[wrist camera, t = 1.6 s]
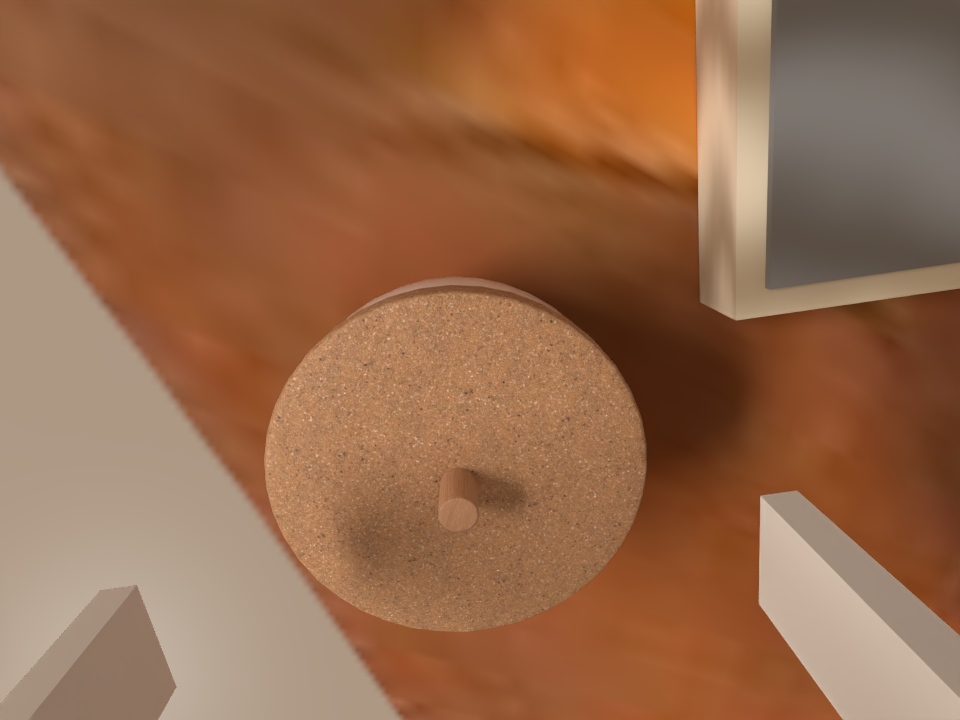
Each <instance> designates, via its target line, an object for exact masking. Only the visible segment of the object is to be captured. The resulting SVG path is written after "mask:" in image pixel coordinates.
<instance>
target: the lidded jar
mask: <svg viewBox="0 0 960 720" xmlns="http://www.w3.org/2000/svg"><path fill="white" fill-rule="evenodd" d="M264 463H265V476H266V488H267V491H268V495H269V499H270V503H271V507H272V511H273V514H274V516H275V518H276V520H277V523H278V525H279V527H280V529H281V532H282V534H283V536H284V538H285V539H286V541H287V542H288V544H289V545H290V547H291V548H292V550H293V551H294V553H295V554H296V556H297V557H298V559H299V560H300V561H301V562H302V563H303V564H304V565H305V567H306V568H307V569H308V570H309V571H310V572H311V573H312V574H313V575H314V577H315V578H316V579H317V580H318V581H319V582H321V583H322V584H323V585H325V586H326V587H327V588H328V589H330V590H331V591H332V592H334V593H335V594H336V595H337V596H339V597H340V598H342V599H344V600H345V601H347V602H348V603H350V604H352V605H353V606H355V607H357V608H358V609H360V610H362V611H364V612H367V613H369V614H372V615H374V616H377V617H379V618H382V619H384V620H387V621H390V622H394V623H397V624H401V625H404V626H408V627H411V628H418V629H426V630H434V631H458V632H467V631H474V630H482V629H490V628H495V627H499V626H504V625H508V624H512V623H517V622H520V621H522V620H525V619H527V618H530V617H532V616H535V615H537V614H540V613H542V612H544V611H546V610H548V609H550V608H552V607H553V606H555V605H557V604H559V603H561V602H563V601H565V600H566V599H568V598H569V597H570V596H572V595H573V594H574V593H576V592H577V591H578V590H580V589H581V588H582V587H583V586H585V585H586V584H587V583H588V582H589V581H590V580H591V579H592V578H594V577H595V576H596V575H597V574H598V573H599V572H600V571H601V570H602V569H603V568H604V567H605V566H606V565H607V563H608V562H609V560H610V559H611V558H612V556H613V555H614V554H615V552H616V551H617V550H618V548H619V547H620V546H621V544H622V543H623V541H624V539H625V537H626V535H627V533H628V532H629V530H630V528H631V526H632V524H633V522H634V520H635V517H636V514H637V511H638V508H639V506H640V503H641V500H642V497H643V491H644V485H645V479H646V473H647V443H646V438H645V433H644V428H643V422H642V417H641V414H640V412H639V409H638V407H637V404H636V402H635V399H634V396H633V394H632V391H631V389H630V388H629V386H628V385H627V383H626V381H625V380H624V378H623V376H622V375H621V373H620V371H619V370H618V368H617V366H616V365H615V364H614V363H613V361H612V360H611V359H610V358H609V357H608V356H607V355H606V353H605V352H604V351H603V350H602V349H601V348H600V347H599V345H598V344H597V343H596V342H595V341H594V340H593V339H592V338H591V337H590V336H589V335H588V334H586V333H585V332H584V331H583V330H581V329H580V328H579V327H578V326H576V325H575V324H574V323H573V322H572V321H570V320H569V319H568V318H566V317H565V316H564V315H562V314H561V313H560V312H559V311H557V310H556V309H555V308H554V307H552V306H551V305H549V304H547V303H545V302H544V301H542V300H540V299H538V298H537V297H535V296H533V295H531V294H530V293H527V292H525V291H523V290H520V289H517V288H515V287H512V286H509V285H507V284H504V283H501V282H496V281H491V280H486V279H481V278H475V277H443V278H434V279H426V280H423V281H419V282H415V283H412V284H408V285H404V286H402V287H399V288H397V289H395V290H393V291H390V292H388V293H386V294H384V295H382V296H380V297H377V298H375V299H373V300H372V301H370V302H369V303H367V304H366V305H364V306H363V307H361V308H360V309H358V310H357V311H355V312H354V313H352V314H351V315H350V316H349V317H348V318H347V319H346V320H345V321H343V322H342V323H340V324H339V325H337V326H336V327H334V328H333V329H332V330H331V331H330V332H329V333H328V334H327V335H326V336H325V337H323V338H322V339H321V340H320V341H319V342H318V343H317V344H316V345H315V346H314V347H313V348H312V349H311V350H310V351H309V352H308V353H307V355H306V356H305V357H304V359H303V360H302V361H301V363H300V364H299V365H298V367H297V368H296V369H295V371H294V372H293V373H292V375H291V376H290V377H289V379H288V380H287V382H286V384H285V386H284V388H283V390H282V392H281V394H280V396H279V398H278V400H277V402H276V404H275V407H274V411H273V414H272V417H271V421H270V424H269V428H268V431H267V438H266V448H265V458H264Z"/></svg>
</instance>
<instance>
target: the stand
mask: <svg viewBox="0 0 960 720" xmlns="http://www.w3.org/2000/svg"><path fill="white" fill-rule="evenodd" d="M696 65H697V137H698V209H699V282H700V303H702V304H704V305H706V306H708V307H710V308H712V309H714V310H716V311H718V312H720V313H722V314H724V315H726V316H728V317H730V318H732V319H734V320H743V319H750V318H757V317H764V316H771V315H778V314H785V313H792V312H799V311H806V310H812V309H819V308H826V307H833V306H840V305H847V304H854V303H861V302H868V301H875V300H882V299H889V298H896V297H903V296H910V295H917V294H924V293H931V292H938V291H945V290H952V289H959V288H960V0H696Z"/></svg>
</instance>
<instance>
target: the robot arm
mask: <svg viewBox="0 0 960 720" xmlns="http://www.w3.org/2000/svg"><path fill="white" fill-rule="evenodd" d="M759 605H760V606H761V607H762V609H763V610H764V611H765V613H766V614H767V616H768V617H769V618H770V620H771V621H772V623H773V624H774V625H775V627H776V628H777V629H778V631H779V632H780V634H781V635H782V636H783V638H784V639H785V640H786V642H787V643H788V645H789V646H790V647H791V649H792V650H793V651H794V653H795V654H796V656H797V657H798V658H799V660H800V661H801V663H802V664H803V665H804V667H805V668H806V669H807V671H808V672H809V674H810V675H811V676H812V678H813V679H814V680H815V682H816V683H817V685H818V686H819V687H820V689H821V690H822V691H823V693H824V694H825V696H826V697H827V698H828V700H829V701H830V703H831V704H832V705H833V707H834V708H835V709H836V711H837V712H838V714H839V715H840V716H841V718H842V719H843V720H960V635H958V634H957V633H956V632H955V631H954V630H953V629H952V628H951V627H949V626H948V625H947V624H946V623H945V622H944V621H943V620H942V619H941V618H939V617H938V616H937V615H936V614H935V613H934V612H933V611H932V610H930V609H929V608H928V607H927V606H926V605H925V604H924V603H923V602H921V601H920V600H919V599H918V598H917V597H916V596H915V595H914V594H912V593H911V592H910V591H909V590H908V589H907V588H906V587H905V586H904V585H902V584H901V583H900V582H899V581H898V580H897V579H896V578H895V577H893V576H892V575H891V574H890V573H889V572H888V571H887V570H886V569H884V568H883V567H882V566H881V565H880V564H879V563H878V562H877V561H875V560H874V559H873V558H872V557H871V556H870V555H869V554H868V553H867V552H865V551H864V550H863V549H862V548H861V547H860V546H859V545H858V544H856V543H855V542H854V541H853V540H852V539H851V538H850V537H849V536H847V535H846V534H845V533H844V532H843V531H842V530H841V529H840V528H838V527H837V526H836V525H835V524H834V523H833V522H832V521H831V520H830V519H828V518H827V517H826V516H825V515H824V514H823V513H822V512H821V511H819V510H818V509H817V508H816V507H815V506H814V505H813V504H812V503H810V502H809V501H808V500H807V499H806V498H805V497H804V496H803V495H801V494H800V493H799V492H798V491H790V492H783V493H776V494H769V495H762V496H760V559H759ZM175 688H176V685H175V682H174V680H173V677H172V674H171V672H170V669H169V667H168V664H167V661H166V659H165V656H164V654H163V651H162V649H161V646H160V644H159V641H158V639H157V636H156V633H155V631H154V628H153V626H152V623H151V621H150V618H149V615H148V613H147V610H146V608H145V605H144V603H143V600H142V598H141V595H140V593H139V590H138V587H137V585H135V586H128V587H121V588H114V589H107V590H101V591H99V593H98V594H97V595H96V596H95V597H94V598H93V599H92V600H91V602H90V603H89V604H88V605H87V606H86V607H85V609H84V610H83V611H82V612H81V613H80V614H79V615H78V616H77V618H76V619H75V620H74V621H73V622H72V623H71V624H70V625H69V627H68V628H67V629H66V630H65V631H64V632H63V633H62V634H61V636H60V637H59V638H58V639H57V640H56V641H55V642H54V644H53V645H52V646H51V647H50V648H49V649H48V650H47V651H46V653H45V654H44V655H43V656H42V657H41V658H40V659H39V660H38V662H37V663H36V664H35V665H34V666H33V667H32V668H31V669H30V671H29V672H28V673H27V674H26V675H25V676H24V677H23V679H22V680H21V681H20V682H19V683H18V684H17V685H16V687H15V688H14V689H13V690H12V691H11V692H10V693H9V694H8V696H7V697H6V698H5V699H4V700H3V701H2V702H1V703H0V720H158V719H159V717H160V715H161V713H162V711H163V710H164V708H165V706H166V704H167V703H168V701H169V699H170V697H171V696H172V694H173V692H174V690H175Z"/></svg>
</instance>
